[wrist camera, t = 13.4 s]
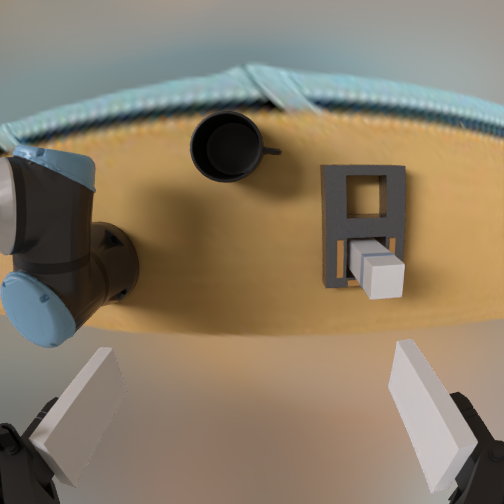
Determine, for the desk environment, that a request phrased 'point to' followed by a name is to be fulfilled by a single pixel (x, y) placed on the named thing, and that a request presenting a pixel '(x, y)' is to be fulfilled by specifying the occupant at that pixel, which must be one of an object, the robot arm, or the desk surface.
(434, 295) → the desk surface
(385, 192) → the jack panel
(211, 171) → the mug
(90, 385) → the robot arm
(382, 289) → the plug
